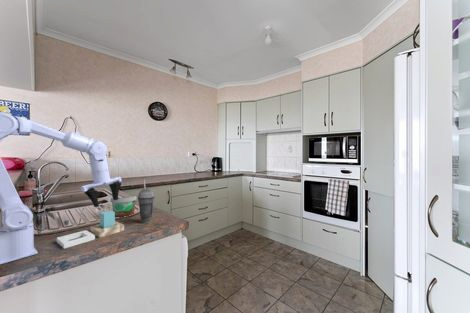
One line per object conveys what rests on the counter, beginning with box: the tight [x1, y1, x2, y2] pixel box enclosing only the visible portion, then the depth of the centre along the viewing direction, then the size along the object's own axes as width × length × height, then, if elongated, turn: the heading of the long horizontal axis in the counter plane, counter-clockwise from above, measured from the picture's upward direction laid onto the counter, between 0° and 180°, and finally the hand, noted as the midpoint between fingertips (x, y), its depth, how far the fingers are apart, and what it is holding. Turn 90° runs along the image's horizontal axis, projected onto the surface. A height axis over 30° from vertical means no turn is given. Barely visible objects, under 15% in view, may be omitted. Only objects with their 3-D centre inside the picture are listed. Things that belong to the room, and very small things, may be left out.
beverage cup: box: [137, 179, 155, 224], centre depth 94 cm, size 7×7×20 cm
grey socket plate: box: [56, 229, 96, 249], centre depth 73 cm, size 9×9×2 cm
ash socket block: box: [90, 220, 125, 239], centre depth 82 cm, size 9×9×2 cm
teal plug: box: [99, 210, 116, 229], centre depth 82 cm, size 4×4×8 cm
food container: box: [110, 195, 138, 217], centre depth 101 cm, size 12×6×10 cm, turn 105°
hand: (106, 203), depth 81 cm, fingers open, 7 cm apart
